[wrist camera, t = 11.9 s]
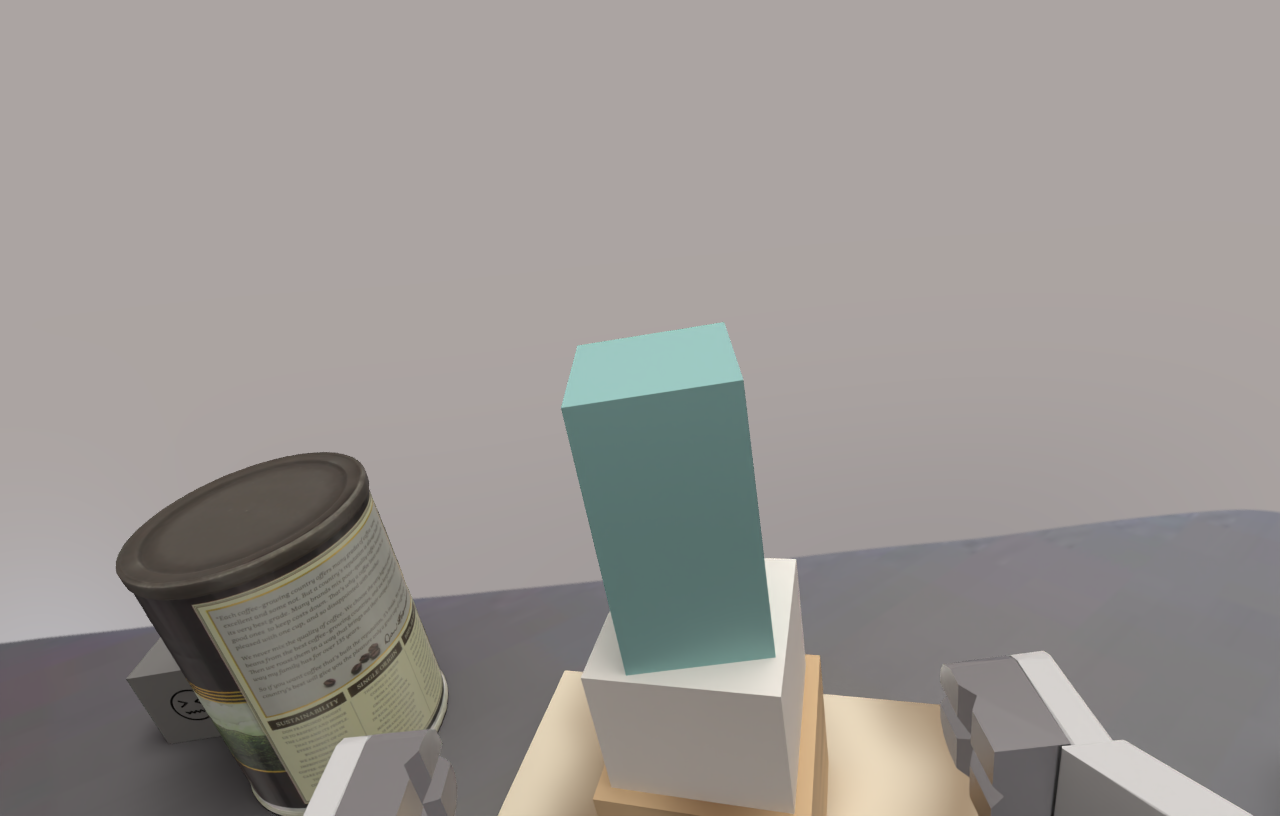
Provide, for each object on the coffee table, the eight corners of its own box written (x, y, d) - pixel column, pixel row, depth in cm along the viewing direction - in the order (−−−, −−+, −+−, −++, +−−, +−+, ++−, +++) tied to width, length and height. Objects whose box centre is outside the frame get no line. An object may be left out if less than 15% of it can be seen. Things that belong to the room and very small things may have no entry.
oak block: (624, 906, 25) (592, 799, 23) (668, 742, 31) (646, 642, 29) (822, 947, 23) (810, 832, 21) (828, 761, 29) (819, 655, 27)
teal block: (626, 675, 21) (561, 408, 17) (629, 578, 25) (577, 345, 21) (775, 657, 20) (743, 379, 17) (753, 562, 24) (724, 322, 21)
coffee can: (208, 832, 32) (51, 600, 27) (306, 666, 42) (206, 466, 36) (418, 810, 32) (303, 565, 26) (470, 645, 41) (394, 437, 35)
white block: (611, 787, 23) (581, 677, 21) (655, 652, 28) (634, 553, 26) (794, 814, 21) (780, 696, 19) (805, 664, 26) (796, 559, 24)
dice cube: (294, 662, 42) (262, 599, 40) (257, 731, 38) (218, 664, 36) (216, 675, 43) (180, 613, 40) (169, 745, 38) (126, 679, 36)
